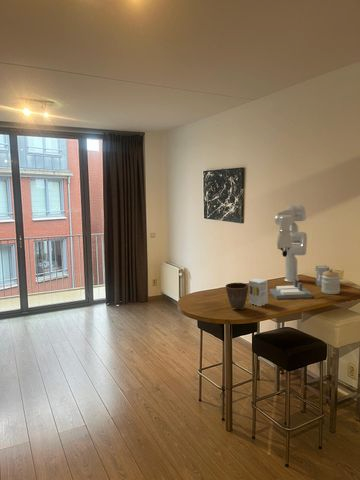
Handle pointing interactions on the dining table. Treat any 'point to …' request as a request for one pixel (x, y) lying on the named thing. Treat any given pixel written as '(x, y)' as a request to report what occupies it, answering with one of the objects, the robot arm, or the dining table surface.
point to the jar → (330, 282)
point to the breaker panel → (279, 296)
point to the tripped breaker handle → (295, 282)
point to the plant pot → (237, 294)
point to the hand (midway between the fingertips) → (284, 256)
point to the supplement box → (258, 292)
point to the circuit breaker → (320, 274)
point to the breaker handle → (299, 286)
